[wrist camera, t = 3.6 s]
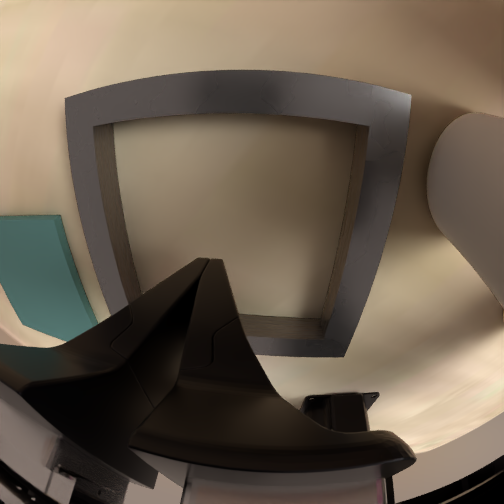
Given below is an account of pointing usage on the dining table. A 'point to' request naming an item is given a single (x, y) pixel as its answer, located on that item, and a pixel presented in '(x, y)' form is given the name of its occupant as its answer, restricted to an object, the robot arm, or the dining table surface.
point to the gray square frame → (257, 102)
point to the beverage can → (471, 193)
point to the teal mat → (43, 276)
